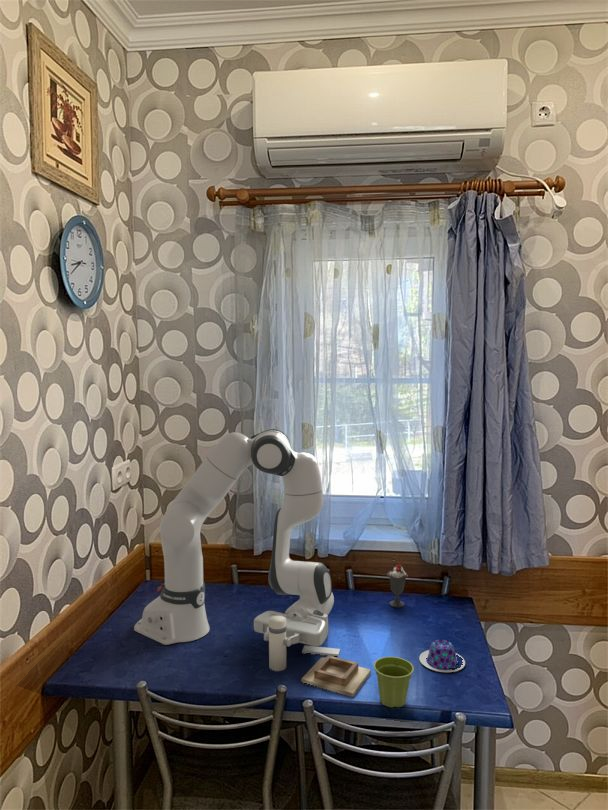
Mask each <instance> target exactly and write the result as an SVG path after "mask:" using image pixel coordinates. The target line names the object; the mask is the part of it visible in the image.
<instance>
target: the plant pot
mask: <svg viewBox="0 0 608 810" xmlns="http://www.w3.org/2000/svg"><path fill="white" fill-rule="evenodd" d="M373 669H374V671H375V675H376V677H377V679H376V680H377V684H378V685H377V687H378V693H379V694H378V695H379V701H380V703H381V704H382V705H384V706H386V707H387V708H388V707H389V708H394V707H396V708H401V707H403V706H405V704H406V702H407V695H408V690H409V684H410V680H411V677H412V674H413V673H414V671H415V667H414V665H413V664H412V662H410V661H408V660H407V659H404V658H402V657H398V656H383V657H379V658H378V659H376V660H375V661H374V662H373Z"/></svg>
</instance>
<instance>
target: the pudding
mask: <svg viewBox="0 0 608 810" xmlns="http://www.w3.org/2000/svg"><path fill="white" fill-rule="evenodd" d="M455 649H456V648H455V646H454V645H453V643H452V642H450V641H448V640H446V639H436V640H433V641H432V642H431V643H430V648H429V649H427V650H425V651H423V652H421V654H420V655H419V659H418V660H419V662H420V663H421V665H423V666H424V667H426V668H427V669H430V670H432V671H435V672H440V673H452V672H453V673H456V672H459V671H460V670H462V669H464V667H465V666H466V660H465V659H464V657H463V656H462V655H460V654H458V653H457V652H456V650H455ZM456 655H458V656H459V657H461V658H462V659H463V660H462V662H463V663H462V664H463V665H461V667H460V668H457V669H455V670H452V669H449V668H456V667H457V665H456V664H457V663H458V661H457V657H456ZM426 658H427V659H426ZM455 666H456V667H455ZM438 668H439V669H438Z"/></svg>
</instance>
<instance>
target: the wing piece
mask: <svg viewBox="0 0 608 810" xmlns="http://www.w3.org/2000/svg"><path fill="white" fill-rule="evenodd" d="M303 645H304V646H303V648H302V650H301V653H302V654H306V653H311V654H310V655H315V654H320V655H319V656H325V655H329V656H333V657H334V656H337V658H339V656H340V654H341V653H340V652H341V649H340V648H333V647H325V646H324V647H323V646H317V647H315V646H311V645H306V644H303Z"/></svg>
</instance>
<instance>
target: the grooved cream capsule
mask: <svg viewBox="0 0 608 810" xmlns="http://www.w3.org/2000/svg"><path fill="white" fill-rule="evenodd" d="M285 638H286V618H285V617H283V616H272V617H270V618H269V641H268V667H269V669H270V670H271V669H272V670H271V671H273V670H274V671H273V672H281V671H285V669H286V668H287V646H285V645H284V639H285Z"/></svg>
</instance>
